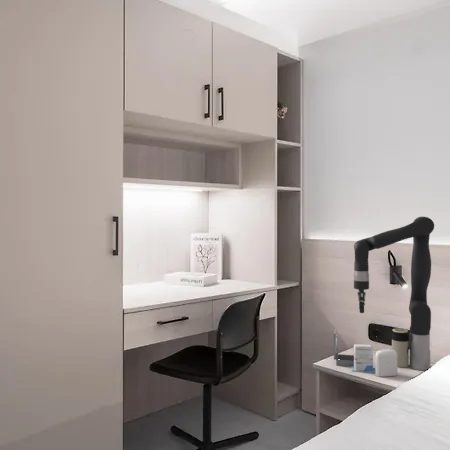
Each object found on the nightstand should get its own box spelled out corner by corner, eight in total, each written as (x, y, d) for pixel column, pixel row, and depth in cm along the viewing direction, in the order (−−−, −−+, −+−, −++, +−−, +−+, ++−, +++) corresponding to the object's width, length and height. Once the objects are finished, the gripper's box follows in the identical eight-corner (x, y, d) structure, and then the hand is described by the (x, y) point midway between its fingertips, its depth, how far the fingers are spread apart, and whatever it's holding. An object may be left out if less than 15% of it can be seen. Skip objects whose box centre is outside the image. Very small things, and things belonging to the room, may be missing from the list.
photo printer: (377, 377, 224) (377, 351, 224) (374, 374, 228) (374, 348, 228) (398, 376, 225) (398, 350, 225) (394, 373, 229) (394, 347, 229)
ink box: (371, 367, 237) (371, 344, 236) (373, 371, 232) (373, 346, 231) (353, 367, 238) (353, 343, 237) (355, 370, 233) (355, 346, 232)
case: (365, 360, 249) (365, 330, 248) (365, 367, 238) (365, 335, 237) (334, 358, 253) (334, 328, 252) (333, 365, 242) (333, 333, 242)
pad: (374, 368, 236) (374, 367, 236) (375, 373, 230) (375, 372, 230) (351, 366, 239) (351, 366, 239) (351, 371, 233) (351, 370, 233)
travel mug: (389, 365, 241) (389, 330, 240) (396, 361, 247) (396, 327, 246) (404, 369, 235) (404, 333, 235) (411, 365, 241) (411, 330, 240)
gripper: (369, 281, 235) (369, 314, 235) (368, 277, 248) (368, 308, 249) (353, 281, 237) (354, 313, 237) (353, 277, 250) (353, 308, 251)
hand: (361, 311), depth 243 cm, fingers open, 8 cm apart
